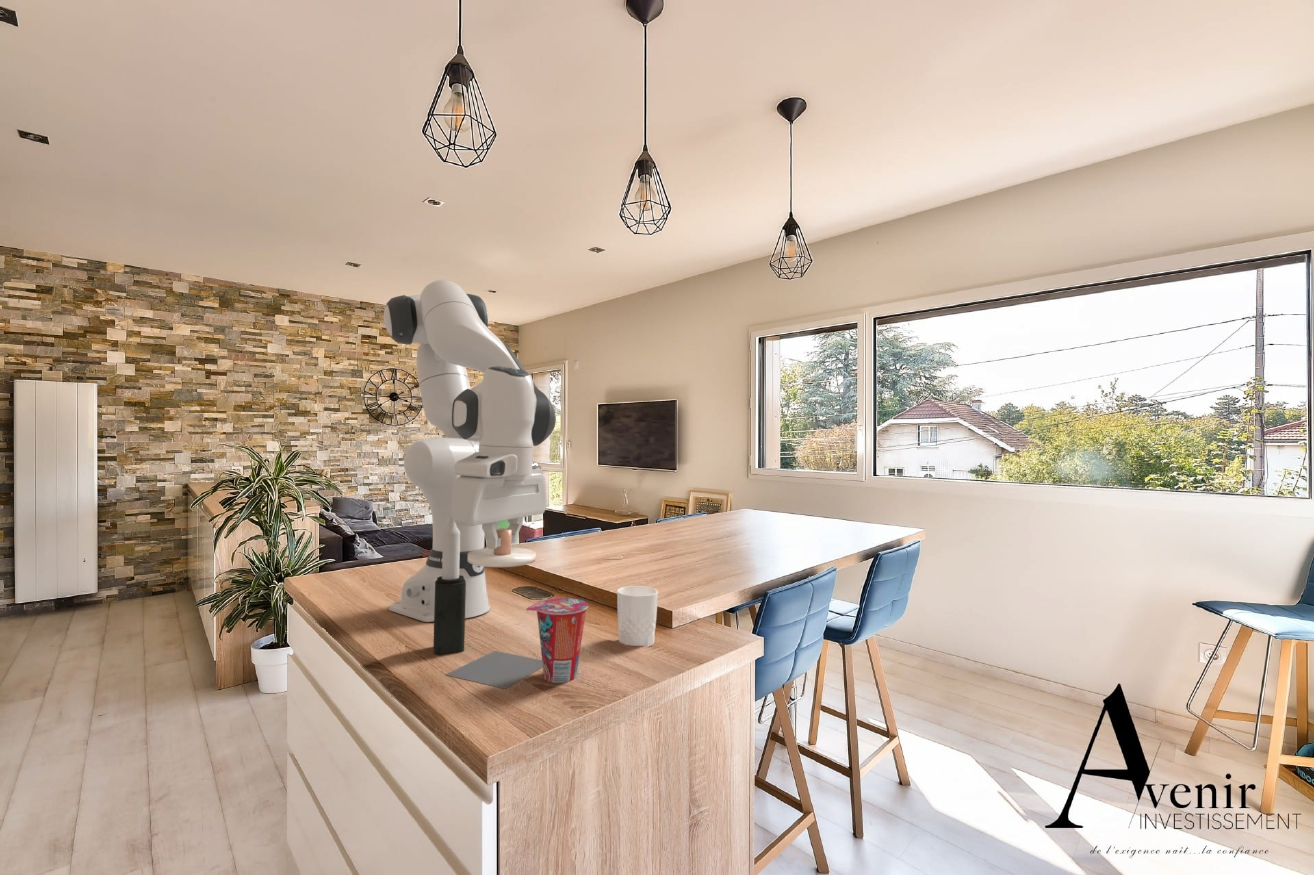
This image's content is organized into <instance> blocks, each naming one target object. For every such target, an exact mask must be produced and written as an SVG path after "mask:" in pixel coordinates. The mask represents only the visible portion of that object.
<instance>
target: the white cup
mask: <svg viewBox="0 0 1314 875" xmlns="http://www.w3.org/2000/svg"><path fill="white" fill-rule="evenodd" d="M616 594H617V595H616V597H617V602H616V604H617V626H618V642H619V643H620V644H624V645H625V646H631V647H635V646H636V647H647V648H649V647H651V646H653V645H654V643H655V634H656V633H655V632H656V626H657V625H656V624H657V614H658V613H657V612H658V597H659V590H658V589H657V588H654V587H651V586H646V585H629V586H622V587H620V588H618V589H617V590H616Z"/></svg>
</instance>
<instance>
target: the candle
mask: <svg viewBox="0 0 1314 875" xmlns="http://www.w3.org/2000/svg"><path fill="white" fill-rule="evenodd" d="M459 560H460V531H459V530H458V528H457V527H456V523H455V522H454V520H453V518H452V514H450V520H449V523H448V526H447V528H446V529H445V531H444V532H443V557H442V576H440V577H438V578H437V580H436V581H435V606H434V621H433V645H432V646H433V654H434V655H436V656H444V655H452V654H460V653H463V652H464V651H465V642H466V641H465V636H466V634H465V632H466V618H465V599H466V582H465V579H464V577H463V576H461V575H459Z"/></svg>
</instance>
